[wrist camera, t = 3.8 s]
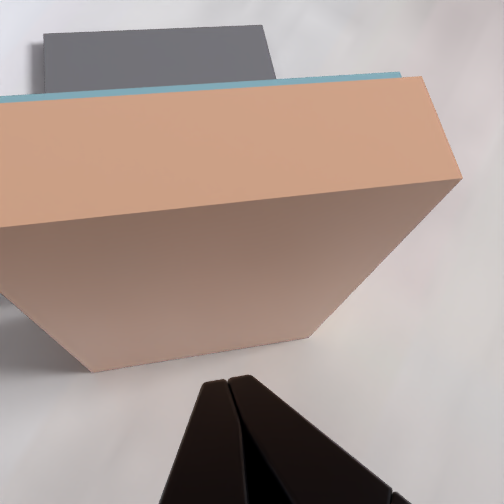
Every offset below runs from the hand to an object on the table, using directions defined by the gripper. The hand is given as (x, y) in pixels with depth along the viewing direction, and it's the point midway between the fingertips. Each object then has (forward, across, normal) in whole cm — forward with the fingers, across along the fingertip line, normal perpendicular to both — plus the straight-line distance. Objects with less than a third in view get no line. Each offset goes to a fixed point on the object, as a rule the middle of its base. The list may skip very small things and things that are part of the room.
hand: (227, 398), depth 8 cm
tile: (+7, 0, +3) cm, 8 cm away
